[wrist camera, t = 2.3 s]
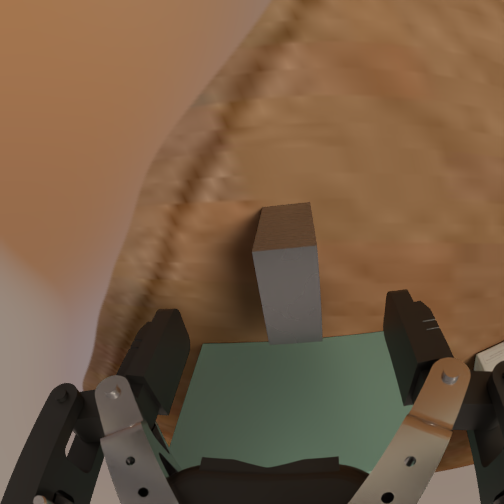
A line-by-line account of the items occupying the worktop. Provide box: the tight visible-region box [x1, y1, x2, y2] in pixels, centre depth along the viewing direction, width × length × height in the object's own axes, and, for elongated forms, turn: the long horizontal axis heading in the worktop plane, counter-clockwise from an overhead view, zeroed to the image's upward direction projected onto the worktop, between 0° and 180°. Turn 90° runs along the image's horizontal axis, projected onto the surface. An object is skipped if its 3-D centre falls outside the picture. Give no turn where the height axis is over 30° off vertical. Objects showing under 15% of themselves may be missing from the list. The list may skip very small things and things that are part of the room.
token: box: [252, 202, 322, 345], centre depth 15 cm, size 2×5×5 cm, turn 9°
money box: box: [169, 331, 413, 474], centre depth 20 cm, size 14×18×10 cm
